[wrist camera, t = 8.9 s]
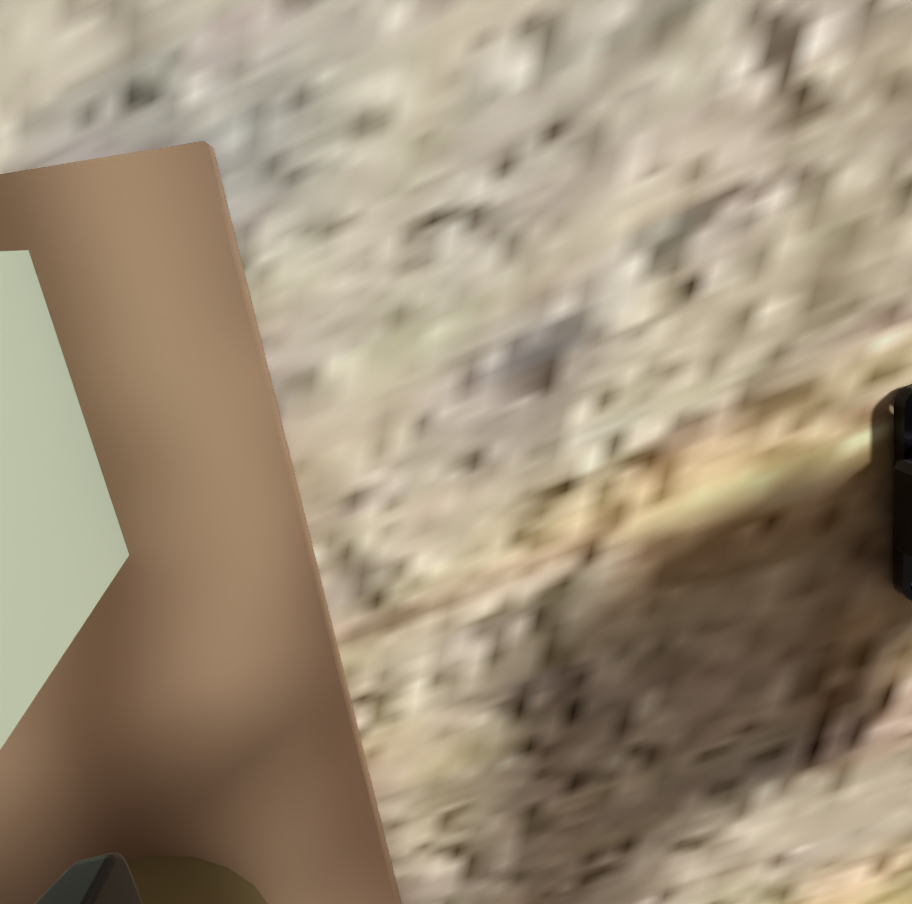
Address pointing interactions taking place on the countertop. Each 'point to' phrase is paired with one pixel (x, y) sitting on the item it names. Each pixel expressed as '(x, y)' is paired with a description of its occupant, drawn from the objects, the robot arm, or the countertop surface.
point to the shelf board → (182, 566)
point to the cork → (190, 882)
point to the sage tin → (44, 498)
